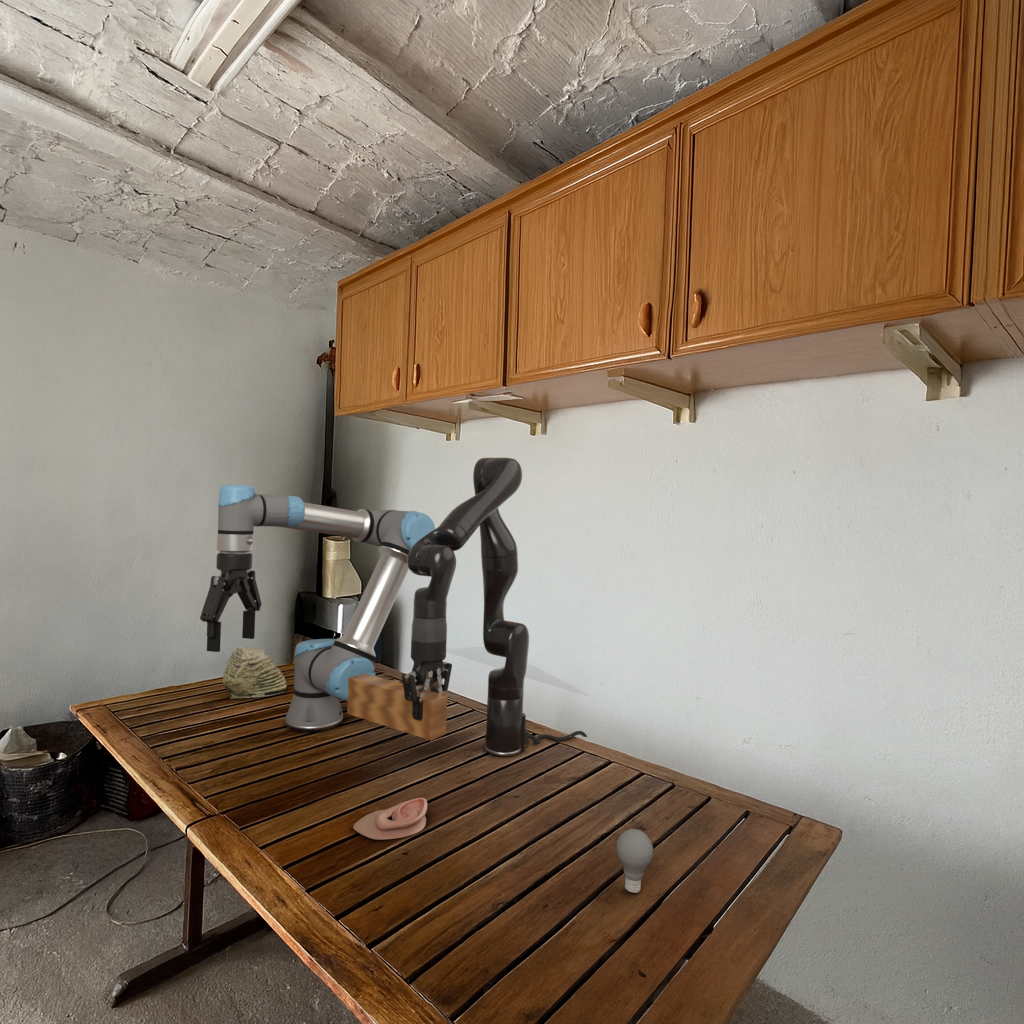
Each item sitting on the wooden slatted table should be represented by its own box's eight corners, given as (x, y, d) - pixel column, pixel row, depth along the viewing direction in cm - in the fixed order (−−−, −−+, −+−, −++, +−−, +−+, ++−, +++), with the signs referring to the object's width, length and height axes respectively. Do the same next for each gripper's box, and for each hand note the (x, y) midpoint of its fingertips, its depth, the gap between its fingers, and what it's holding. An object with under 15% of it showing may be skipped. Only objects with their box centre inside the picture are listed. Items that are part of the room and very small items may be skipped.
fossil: (218, 695, 195) (220, 647, 195) (278, 685, 208) (279, 640, 207) (228, 703, 189) (230, 653, 188) (289, 692, 201) (290, 645, 201)
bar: (346, 713, 146) (348, 677, 146) (362, 708, 150) (363, 673, 150) (431, 740, 132) (432, 700, 132) (446, 734, 136) (447, 695, 136)
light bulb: (610, 879, 108) (613, 822, 108) (644, 879, 109) (647, 822, 109) (619, 902, 102) (622, 840, 102) (655, 901, 103) (658, 840, 103)
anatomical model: (346, 814, 119) (372, 787, 130) (345, 835, 119) (371, 806, 130) (413, 824, 116) (433, 796, 127) (412, 846, 116) (432, 816, 127)
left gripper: (216, 557, 132) (213, 658, 133) (278, 549, 157) (275, 634, 157) (184, 555, 133) (180, 655, 134) (250, 547, 158) (247, 632, 158)
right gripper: (419, 645, 127) (416, 729, 128) (463, 634, 139) (460, 710, 140) (392, 639, 131) (389, 721, 132) (437, 629, 143) (434, 703, 144)
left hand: (231, 644), depth 146 cm, fingers open, 13 cm apart
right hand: (426, 715), depth 136 cm, fingers closed on bar, 5 cm apart
